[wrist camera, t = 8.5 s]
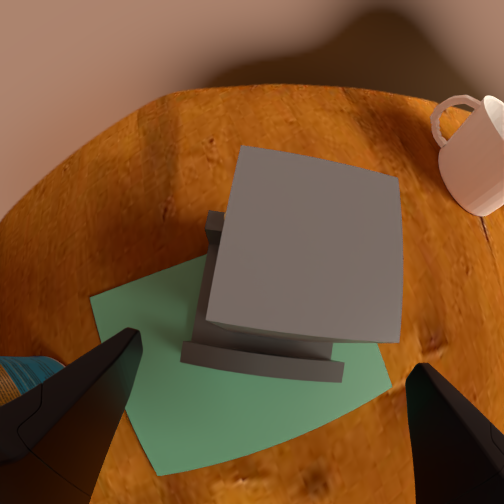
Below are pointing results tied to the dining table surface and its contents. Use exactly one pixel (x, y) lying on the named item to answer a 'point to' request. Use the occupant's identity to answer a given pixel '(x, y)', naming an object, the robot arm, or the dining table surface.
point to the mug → (473, 155)
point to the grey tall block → (309, 251)
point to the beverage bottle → (24, 374)
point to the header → (251, 338)
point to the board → (217, 381)
